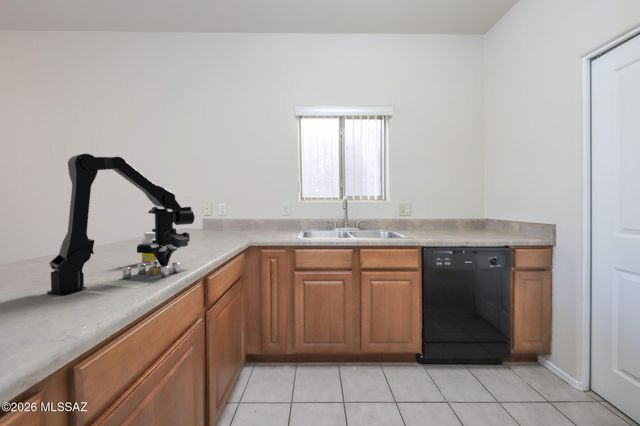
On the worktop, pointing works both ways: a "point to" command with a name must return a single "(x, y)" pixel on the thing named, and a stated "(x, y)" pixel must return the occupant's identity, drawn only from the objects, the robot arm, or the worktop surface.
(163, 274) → the spacers
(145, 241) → the supplement bottle
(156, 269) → the nut
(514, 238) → the worktop surface
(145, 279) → the mat
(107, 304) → the worktop surface
